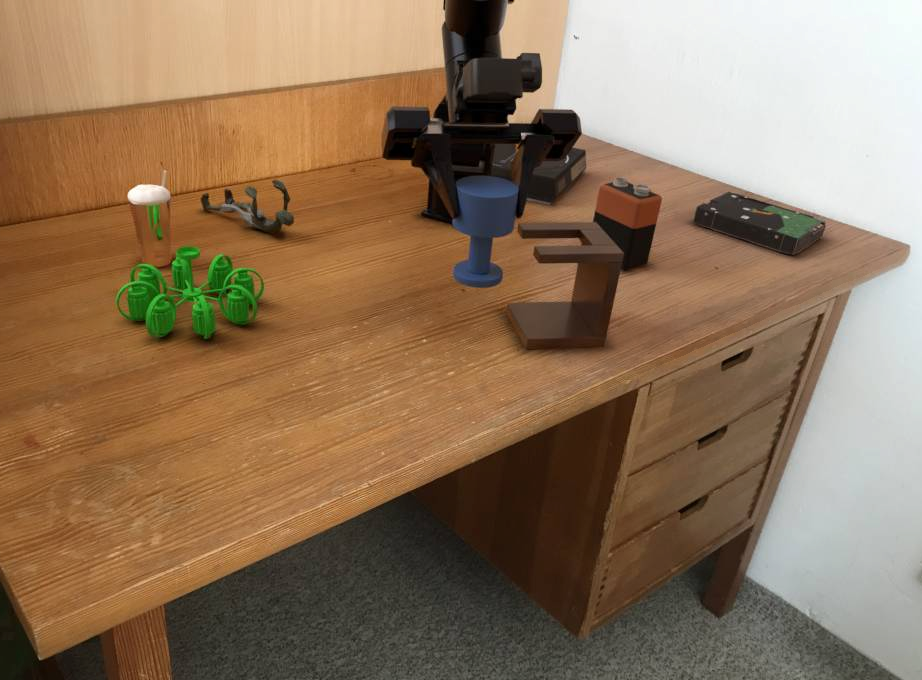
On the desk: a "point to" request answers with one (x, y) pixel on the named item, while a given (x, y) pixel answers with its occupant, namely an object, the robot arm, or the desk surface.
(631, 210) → the battery
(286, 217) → the zombie figurine
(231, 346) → the desk surface
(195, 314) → the chandelier
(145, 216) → the milkshake
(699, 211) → the disk drive
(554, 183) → the portable cd player
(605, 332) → the brown slotted stand
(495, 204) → the peg
